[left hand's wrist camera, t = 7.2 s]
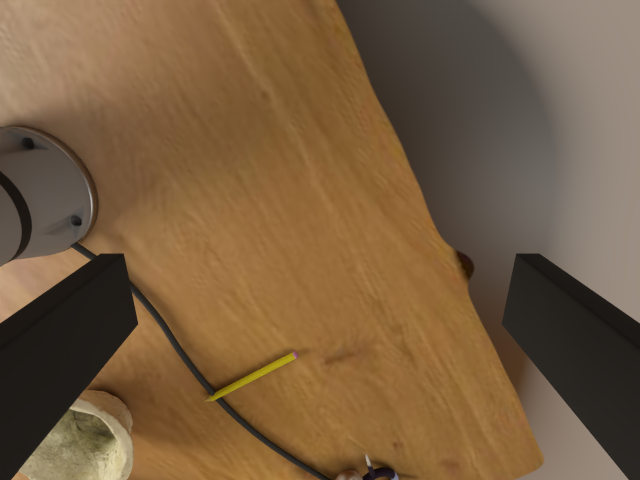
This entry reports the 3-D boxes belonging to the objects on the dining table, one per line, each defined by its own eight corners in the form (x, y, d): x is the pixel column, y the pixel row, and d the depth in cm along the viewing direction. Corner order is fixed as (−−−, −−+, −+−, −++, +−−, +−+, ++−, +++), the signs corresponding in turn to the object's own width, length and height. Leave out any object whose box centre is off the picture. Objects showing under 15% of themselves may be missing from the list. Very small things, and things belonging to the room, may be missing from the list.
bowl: (142, 422, 63) (48, 490, 56) (87, 343, 55) (-29, 410, 48) (168, 475, 52) (56, 568, 45) (104, 387, 45) (-41, 481, 38)
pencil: (294, 349, 52) (293, 354, 51) (298, 354, 53) (297, 359, 52) (203, 397, 55) (201, 402, 54) (207, 401, 56) (205, 406, 55)
